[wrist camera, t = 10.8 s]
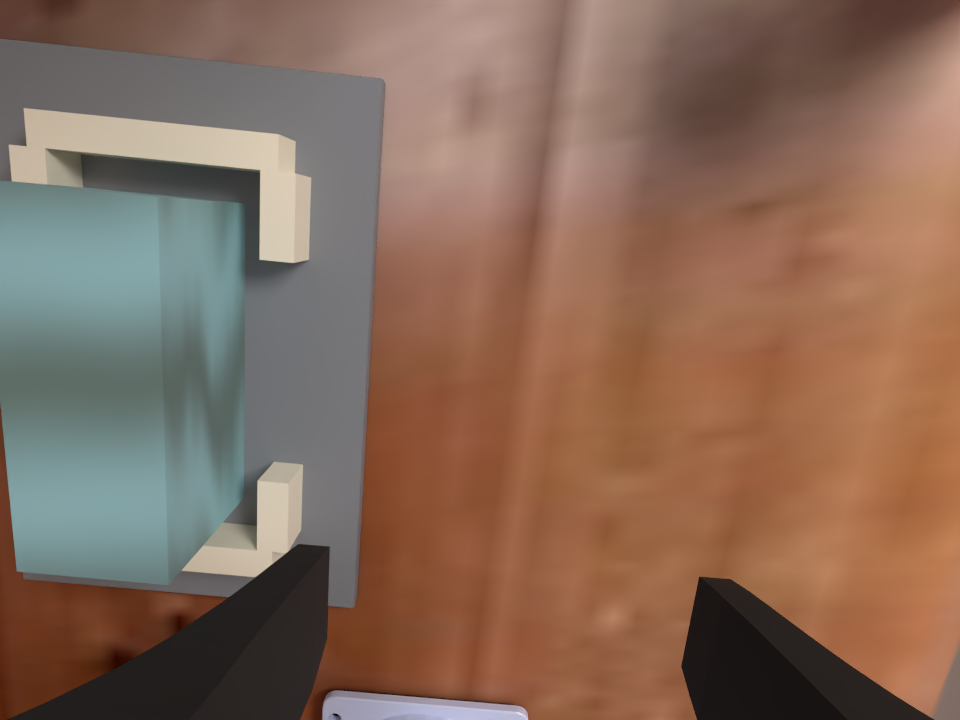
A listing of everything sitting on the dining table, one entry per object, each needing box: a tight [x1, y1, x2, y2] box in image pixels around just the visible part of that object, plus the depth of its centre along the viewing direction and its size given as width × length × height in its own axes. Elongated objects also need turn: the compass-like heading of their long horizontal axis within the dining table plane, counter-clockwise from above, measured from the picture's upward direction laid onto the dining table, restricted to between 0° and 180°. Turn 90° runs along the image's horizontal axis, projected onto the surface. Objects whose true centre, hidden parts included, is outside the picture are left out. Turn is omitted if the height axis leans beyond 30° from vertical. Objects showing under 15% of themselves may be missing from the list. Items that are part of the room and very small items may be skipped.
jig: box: [0, 39, 385, 608], centre depth 19 cm, size 18×12×2 cm, turn 174°
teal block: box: [0, 180, 246, 585], centre depth 17 cm, size 10×4×5 cm, turn 174°
